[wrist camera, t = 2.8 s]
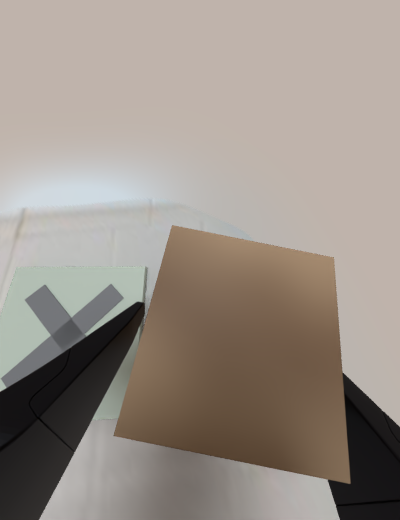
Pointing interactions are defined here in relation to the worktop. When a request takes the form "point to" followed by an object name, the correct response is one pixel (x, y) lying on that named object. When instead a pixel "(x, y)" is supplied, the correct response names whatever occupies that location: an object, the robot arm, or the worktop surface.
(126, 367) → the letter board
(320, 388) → the walnut block
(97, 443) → the worktop surface
